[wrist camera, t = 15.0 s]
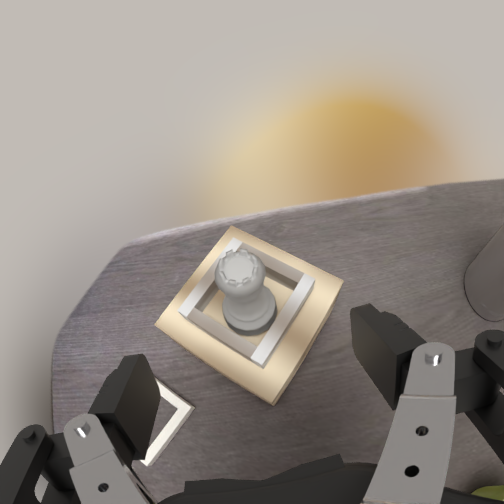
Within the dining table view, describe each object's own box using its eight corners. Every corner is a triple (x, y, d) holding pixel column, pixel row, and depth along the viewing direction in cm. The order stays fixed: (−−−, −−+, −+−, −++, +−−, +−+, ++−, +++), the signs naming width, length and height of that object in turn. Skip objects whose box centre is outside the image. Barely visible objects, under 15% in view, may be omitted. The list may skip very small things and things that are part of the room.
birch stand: (241, 264, 37) (228, 212, 28) (331, 312, 33) (347, 270, 24) (181, 346, 32) (145, 317, 24) (274, 406, 28) (270, 401, 19)
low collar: (137, 362, 31) (131, 359, 30) (195, 407, 28) (191, 407, 27) (98, 415, 28) (91, 414, 27) (152, 464, 25) (147, 466, 24)
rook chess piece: (286, 300, 25) (287, 250, 19) (261, 346, 24) (252, 313, 17) (240, 279, 27) (225, 225, 20) (214, 322, 25) (187, 281, 18)
